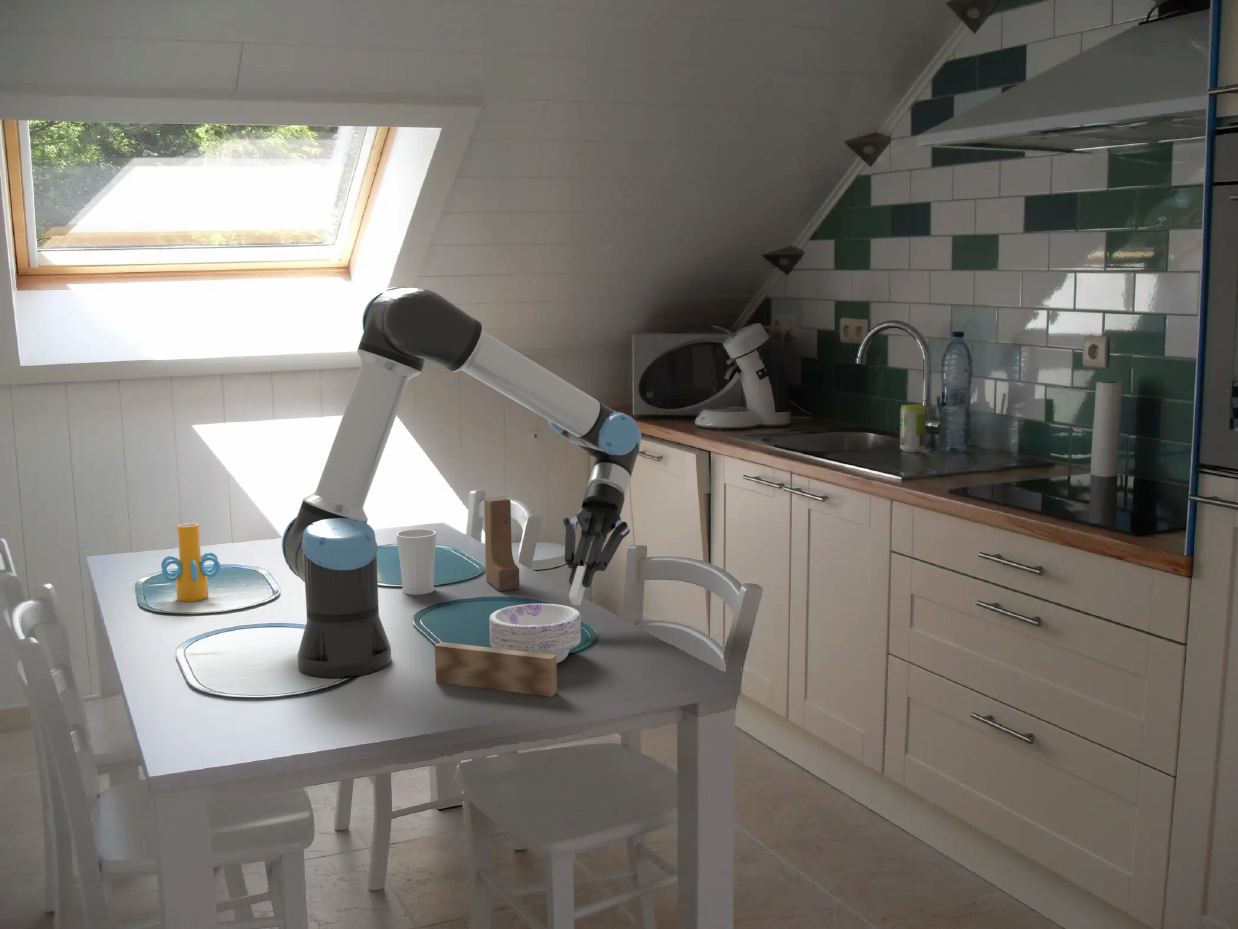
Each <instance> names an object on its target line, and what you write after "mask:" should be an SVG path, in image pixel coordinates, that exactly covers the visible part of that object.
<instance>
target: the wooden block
mask: <svg viewBox="0 0 1238 929" xmlns="http://www.w3.org/2000/svg"><path fill="white" fill-rule="evenodd" d="M483 504H484V505H483V507H484V508H483V510H484V538H485V539H484V545H485V546H484V549H485V576H486V577H485V580H486V582H487V583H488V584H489V585H491V586H492V587H493V588H494V589H495V590H497V591H498V592H508V591H516V590H519V589H520V568H519V567H518V566H517V564H516V563H515V559H514V557H513V556H514V555H513V548H512V546H513V545H512V544H513V543H512V542H513V541H512V507H511V506H512V504H511V499H510V498H508V497H506V496H504V495H501V496H489V497H488V496H487V497H484V499H483Z"/></svg>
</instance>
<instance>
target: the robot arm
mask: <svg viewBox="0 0 1238 929" xmlns="http://www.w3.org/2000/svg"><path fill="white" fill-rule="evenodd" d="M362 330H363V332H362V336H361V338H360V342H359V344H358V347H357V349H356V352H357V354H358V356H359V358H360V361H361V365H360V368H359V370H358V373H357V376H356V379H355V382H354V384H353V387H352V389H351V391H350V392H351V393H350V395H349V398H348V401H347V403H346V406H345V409H344V412H343V415H342V418H341V421H340V423H339V426H338V429H337V431H336V435H335V437H334V439H333V443H332V445H331V448H330V452H329V453H328V456H327V459H326V463H325V465H324V467H323V470H322V472H321V475H320V477H319V478H320V479H319V481H318V484H317V487H316V490H315V491H314V492H313V493H311V494H309V495H307V496H305V497H304V498H303V499H302V501H301V504H300V508H299V509H298V513H297V515H296V516H295V517H294V518H293V519H292V520H291V521H290V522H289V523H288V525H287V526H286V527H285V530H284V532H283V535H282V539H281V551H282V554H283V557H284V558H283V559H284V561H285V563H286V564H287V566H288V568H289V570H290V571H291V572H292V573H293V574H294V575H295V576H296V577H298V578H299V579H301V581H303V583H304V588H305V589H304V590H305V610H306V622H305V623H306V624H305V627H304V630H303V633H302V637H301V641H300V645H299V649H298V652H297V665H298V666H297V667H298V669H299V671H301V672H302V673H303V674H307V675H310V676H313V677H319V678H344V677H343V676H350V677H357V676H363V675H367V674H370V673H374V672H377V671H380V670H382V669H384V668H386V667H387V666H388V665H390V664H391V662H392V647H391V643H390V641H389V638H388V636H387V633H386V631H385V628H384V626H383V622H382V620H381V617H380V611H379V609H380V608H379V585H378V581H379V580H378V558H377V555H378V553H377V552H378V543H377V540H376V533H375V530H374V529H373V527H372V526H371V525H370V524H368V521H369V519H368V517H367V514H366V513H365V511H364V506H365V504H366V500H367V498H368V495H369V492H370V489H371V487H372V483H373V482H374V479H375V475H376V473H377V471H378V467H379V464H380V462H381V459H382V456H383V453H384V452H385V451H384V450H385V448H386V445H387V443H388V440H389V437H390V435H391V430H392V428H393V427H394V426H393V425H394V422H395V420H396V417H397V414H398V412H399V409H400V407H401V404H402V401H403V398H404V394H405V392H406V389H407V386H408V384H409V381H410V380H411V379H413V378H415V377H417V376H420V375H421V374H422V370H423V369H424V366H425V363H426V361H429V362H432V363H433V364H434V363H435V364H437V365H439V366H442V367H444V368H445V369H447V370H449V371H450V372H452V373H457V372H460V371H462V372H464V373H465V374H468V375H469V376H471V377H473V378H474V379H476V380H478V381H480V382H481V383H483V384H485V385H486V386H488V387H490V388H492V389H494V390H495V391H497V392H499V393H501V394H502V395H503V396H506V397H507V398H509V399H510V400H513V401H514V402H517V403H518V404H519V405H522V406H523V407H524V408H526V409H528V410H530V411H532V412H533V413H535V414H537V415H538V416H540V417H543V418H544V419H545V420H547V423H548V425H549V427H550V428H551V429H552V430H553V431H554V432H556V433H558V436H561V437H563V438H564V439H565V440H567V441H569V442H570V443H572V444H573V445H575V446H576V447H577V448H579V449H580V450H582V451H583V452H585V453H586V454H587V455H589V456H591V457H592V458H593V459H594V463H593V466H592V471H591V474H590V477H589V480H588V482H587V487H586V489H585V493H584V496H583V499H582V503H581V508H580V510H579V511H578V512H577V513H576V516H575V517H572V518H568V517H564V519H563V520H562V522H563V525H564V527H565V540H564V542H565V543H564V562H565V564H566V566H567V567H568V569H570V570H571V571H570V575H569V578H568V581H569V584H570V586H571V587H570V591H569V593H568V598H569V600H570V602H571V604H572V605H576V606H581V604H582V600H583V599H584V598H583V596H584V595H585V594H584V593H585V590H586V588H590V587H591V585H592V582H593V578H594V575H595V573H596V572H599V571H600V572H605V571H606V570H607V568H608V566H609V564H610V562H611V561H612V559H613V557H614V555H615V554H616V551H617V550H618V548H619V546H621V543H622V541H623V539H625V538H626V537H627V536H628V534H630V532H631V530H630V527H629V525H628V522H626V521H622V519H621V518H622V517H621V514H622V510H623V507H624V505H625V503H624V502H625V499H626V498H625V497H626V496H627V492H628V488H629V485H630V481H631V478H632V474H633V472H634V468H635V465H636V461H637V458H638V455H639V453H640V447H641V442H642V441H641V440H642V431H641V429H640V428H639V426H638V424H637V422H636V421H635V419H634V418H633V417H631V415H628V414H626V413H624V412H621V411H616V410H614V409H612V408H611V407H609V406H607V405H605V404H604V403H603V402H601V401H598V399H596V398H594V397H592V396H591V395H589V394H588V393H586V392H585V391H583V390H581V389H580V388H579V387H578V388H577V386H574V385H573V384H572V383H570V382H568V381H566V380H565V379H563V378H561V377H560V376H558V375H556V374H555V373H554V372H551V371H550V370H548V369H546V368H544V367H543V366H542V365H539V364H538V363H537V362H535V361H533V360H531V358H529V357H526V356H525V355H524V354H522V353H520V352H518V351H517V350H515V349H513V348H512V347H510V346H509V345H507V344H505V343H504V342H502V341H500V340H498V339H497V338H495V337H494V336H492V335H490V334H489V333H487V332H486V331H485V328H484V325H483V322H481V321H479V320H478V319H476V318H475V317H473V316H471V315H470V314H468V313H466V312H465V311H464V310H463V309H461V308H459V307H458V306H456V305H455V304H453V303H452V302H450V301H449V300H448V299H446V298H445V297H444V296H442V295H440V294H439V293H437V292H435V291H433V290H430V289H428V288H422V287H406V286H395V287H390V288H389V287H388V288H386V289H384V290H382V291H380V292H378V293H376V294H375V295H374V296H373V297H372V298H371V299H370V300H369V301H368V303H367V304H366V306H365V308H364V311H363V314H362ZM578 524H579V526H580V528H581V532H580V533H581V534H580V538H579V542H578V545H577V547H576V538H577V537H576V531H577V528H578ZM610 533H611V535H610V536H609V538H608V540H607V537H608V534H610ZM606 541H607V542H606ZM604 544H605V545H604ZM585 565H586V566H585Z"/></svg>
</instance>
